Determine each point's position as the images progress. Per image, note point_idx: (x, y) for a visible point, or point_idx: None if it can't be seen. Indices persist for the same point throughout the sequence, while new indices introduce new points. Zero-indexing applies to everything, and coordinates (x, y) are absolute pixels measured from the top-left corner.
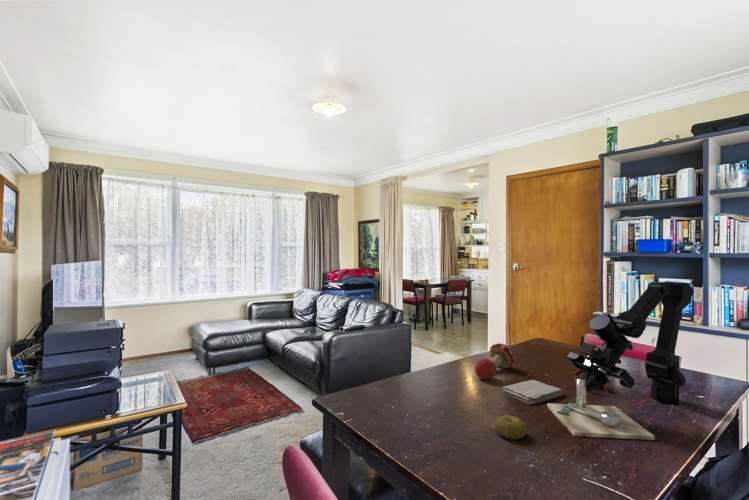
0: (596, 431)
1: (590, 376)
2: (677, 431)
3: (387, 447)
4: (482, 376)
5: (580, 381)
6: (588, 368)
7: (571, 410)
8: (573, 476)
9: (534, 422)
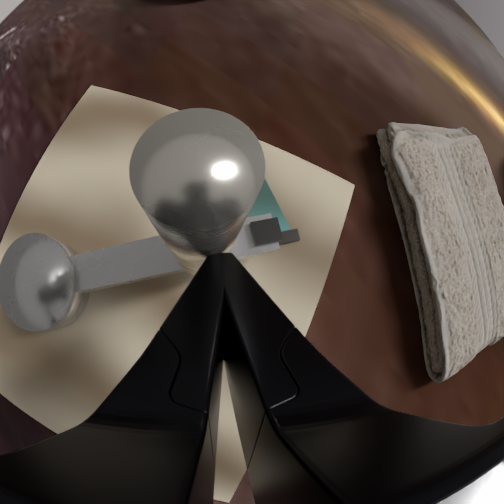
0: (49, 167)
1: (195, 385)
2: None
3: None
4: None
5: (168, 123)
6: (322, 479)
7: None
8: (27, 17)
9: (230, 47)
